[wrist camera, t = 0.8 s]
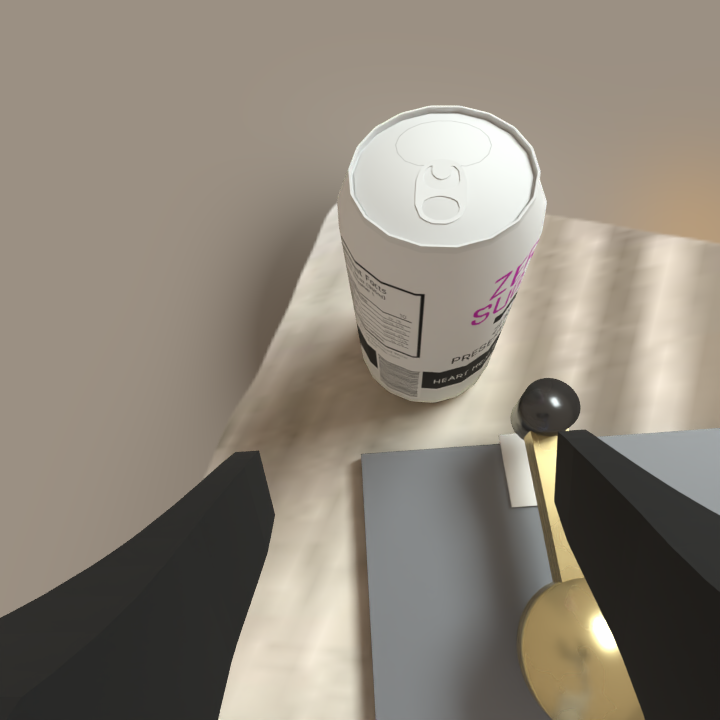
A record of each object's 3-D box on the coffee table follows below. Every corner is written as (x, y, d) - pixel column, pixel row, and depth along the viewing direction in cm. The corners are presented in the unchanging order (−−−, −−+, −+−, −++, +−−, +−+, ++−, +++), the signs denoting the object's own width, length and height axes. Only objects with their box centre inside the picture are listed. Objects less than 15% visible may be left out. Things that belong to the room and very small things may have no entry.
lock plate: (884, 848, 20) (1029, 931, 15) (385, 862, 21) (380, 942, 16) (721, 423, 27) (784, 393, 23) (361, 449, 28) (354, 426, 24)
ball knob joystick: (680, 735, 19) (723, 761, 17) (530, 741, 19) (550, 767, 17) (588, 393, 25) (608, 373, 23) (475, 402, 26) (482, 383, 23)
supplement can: (368, 292, 33) (344, 95, 19) (488, 297, 32) (551, 94, 18) (356, 401, 30) (316, 257, 16) (489, 410, 29) (567, 266, 15)
